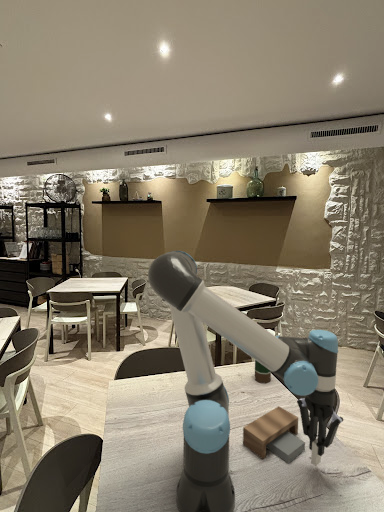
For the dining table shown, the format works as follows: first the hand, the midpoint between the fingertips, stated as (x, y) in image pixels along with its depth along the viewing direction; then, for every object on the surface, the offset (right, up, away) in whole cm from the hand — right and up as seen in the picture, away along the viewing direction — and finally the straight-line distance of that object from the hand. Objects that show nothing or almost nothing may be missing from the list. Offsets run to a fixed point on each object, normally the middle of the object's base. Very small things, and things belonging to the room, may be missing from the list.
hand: (315, 462), depth 85 cm
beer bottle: (-3, +2, +52) cm, 52 cm away
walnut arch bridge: (-10, -1, +13) cm, 16 cm away
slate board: (-7, -2, +9) cm, 12 cm away
